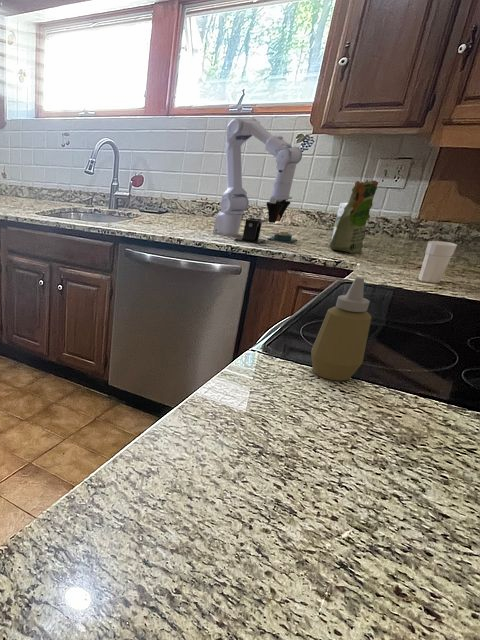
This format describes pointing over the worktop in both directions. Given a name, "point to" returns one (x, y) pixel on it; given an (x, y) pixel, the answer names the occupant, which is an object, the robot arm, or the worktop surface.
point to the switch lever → (268, 220)
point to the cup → (436, 260)
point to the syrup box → (338, 216)
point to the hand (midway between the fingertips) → (274, 221)
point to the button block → (282, 238)
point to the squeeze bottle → (343, 336)
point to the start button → (283, 232)
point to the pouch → (354, 218)
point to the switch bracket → (251, 232)
